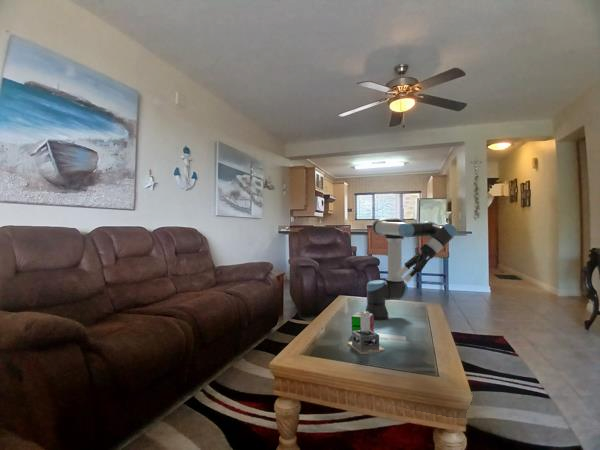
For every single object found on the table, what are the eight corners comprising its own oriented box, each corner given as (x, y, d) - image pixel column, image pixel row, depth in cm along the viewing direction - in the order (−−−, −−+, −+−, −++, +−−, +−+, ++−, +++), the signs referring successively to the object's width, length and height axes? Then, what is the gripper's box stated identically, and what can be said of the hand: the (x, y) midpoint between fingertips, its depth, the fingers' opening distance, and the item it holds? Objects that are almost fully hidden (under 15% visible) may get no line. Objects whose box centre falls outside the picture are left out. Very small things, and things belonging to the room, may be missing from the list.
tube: (359, 344, 146) (358, 311, 147) (367, 343, 148) (366, 310, 148) (363, 347, 142) (363, 313, 143) (372, 346, 143) (371, 312, 144)
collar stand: (347, 343, 150) (347, 329, 150) (369, 340, 153) (368, 327, 154) (361, 354, 137) (360, 339, 137) (384, 350, 140) (384, 336, 140)
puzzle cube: (374, 331, 168) (373, 313, 168) (370, 337, 159) (369, 318, 159) (356, 329, 172) (355, 311, 173) (351, 334, 163) (351, 316, 164)
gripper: (446, 255, 141) (414, 287, 141) (427, 251, 165) (400, 279, 166) (434, 244, 141) (402, 276, 142) (417, 242, 166) (390, 269, 167)
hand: (401, 278), depth 154 cm, fingers open, 13 cm apart
